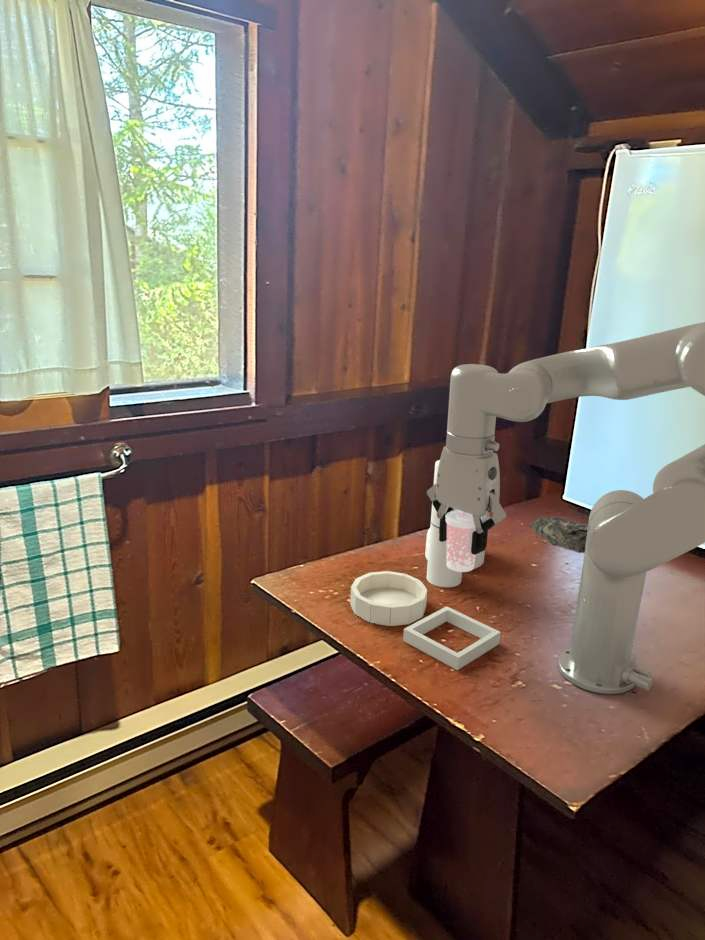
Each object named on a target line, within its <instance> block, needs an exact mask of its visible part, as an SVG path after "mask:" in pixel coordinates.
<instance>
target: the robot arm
mask: <svg viewBox="0 0 705 940" xmlns="http://www.w3.org/2000/svg"><path fill="white" fill-rule="evenodd" d="M686 388H691V389H693V390H694V391H696V392H697V393H699V394H701V395H702V396H704V397H705V322H698V323H694V324H693V323H692V324H689V325H685V326H680V327H677V328H671V329H668V330H665V331H660V332H657V333H656V332H655V333H651V334H648V335H647V334H646V335H644V336H640V337H634V338H629V339H627V340H622V341H617V342H611V343H607V344H606V343H605V344H602V345H597V346H592V347H587V348H580V349H575V350H571V351H565V352H560V353H556V354H552V355H548V356H544V357H539V358H535V359H531V360H527V361H524V362H521V363H519V364H517V365H516V366H515V365H514V366H513V367H512V368H511V369H510V370H509V371H508V372H506V373H499V371H498V370H497V369H495V368H494V367H492V366H490V365H486V364H477V363H476V364H475V363H467V364H460V365H457V366H456V367H455V366H454V368H453V369H452V371H451V373H450V383H449V397H448V412H447V427H446V440H445V441H446V442H445V446H443V448H442V451H441V453H440V459H439V460H440V462H439V467H438V473H437V480H436V484H435V485H434V484H433V485H431V487H430V488H428V489H427V490H426V495H427V496H428V498H429V499H430V501H431V502H433V506H434V508H435V509H436V511H437V517H438V518H439V519H440V526H439V541H441V542H444V541H446V540H447V523H446V520H445V519H446V517H445V515H446V514H447V513H448V512H451V511H454V509H457V510H460V511H462V512H465V513H468V514H471V515H472V516H473V520H474V524H475V528H476V531H474V532H473V533H472V545H471V553H472V554H474V555H476V554H478V553H480V552H482V551H484V550H485V551H486V548H487V544H488V535H489V533H488V532H489V530H490V529H492V528H494V526H496V525H497V524H499V523H501V522H502V521H503V520H504V519H506V518H507V513H506V512H505V510H504V508H503V507H502V504H501V503H500V496H501V495H500V491H501V489H500V488H501V486H500V485H501V479H500V478H501V475H500V474H501V473H500V464H499V457H498V453H495V452H498V451H499V449H500V443H498V442H496V441H495V439H496V436H495V434H496V433H495V432H496V423H497V422H496V421H497V418H501V419H504V420H508V421H511V422H516V423H526V422H529V421H530V422H531V421H532V420H535V419H537V418H538V417H539V416H540V415H541V414H542V413H543V411H544V410H545V408H546V405H547V404H551V403H554V402H558V401H564V400H568V399H574V398H581V397H601V398H602V397H603V398H605V399H606V398H607V399H610V400H617V401H628V400H634V399H638V398H642V397H648V396H651V395H655V394H660V393H665V392H670V391H675V390H682V389H686ZM489 511H491V512H492V516H490V513H489ZM481 516H482V520H481ZM587 523H588V524H587V525H588V530H587V539H586V546H585V552H584V553H583V555H584V557H583V561H582V562H583V563H582V569H581V576H580V582H579V587H578V593H577V594H578V595H577V601H576V606H575V614H574V621H573V627H572V633H571V640H570V646H569V647H568V648H566V649H565V650H563V651H562V652H561V653H560V655H559V657H558V662H557V667H558V670H559V672H560V673H561V675H562V676H563V677H564V678H565V679H566V680H568V681H569V682H570V683H572V684H573V685H574V686H577V687H579V688H581V689H583V690H586V691H589V692H593V693H597V694H604V695H616V694H623V693H625V692H628V691H630V690H632V689H633V688H634V687H635V686H636V687H637V688H641V689H643V690H644V691H647V692H648V691H650V689H651V688H652V685H653V683H654V681H653V679H652V678H651V677H652V671H650V670H648V669H645V667H644V668H643V667H641V666H639V664H638V663H637V657H638V654H636V653H634V652H632V650H633V647H634V643H635V642H634V641H635V636H636V635H635V634H636V630H637V626H638V625H637V624H638V620H639V619H638V618H639V613H640V609H641V608H640V607H641V602H642V598H643V595H644V594H643V593H644V589H645V583H646V577H647V573H648V572H649V571H651V570H654V569H656V568H659V567H660V566H662V565H664V564H666V563H668V562H670V561H672V560H674V559H676V558H678V557H680V556H682V555H683V554H686V553H688V552H689V551H692V550H693V549H696V548H698V547H699V546H701V545H703V544H705V443H704V444H703V445H701V446H699V447H696V448H695V449H693V450H692V451H690V452H688V453H686V454H685V455H682V456H681V457H679V458H677V459H675V460H673V461H672V462H671V461H670V462H669V463H668V464H665V466H663V467H662V468H661V469H660V470H659V471H658V472H657V474H656V475H655V478H654V480H653V484H652V494H650V495H648V496H646V497H644V498H643V496H641V495H639V494H638V493H636V492H633V491H632V490H631V491H630V490H626V489H625V490H624V489H620V490H619V489H617V490H612V491H609V492H607V493H605V494H604V495H602V496H601V497H599V498H598V500H596V502H595V503H594V504H593V506H592V508H591V510H590V513H589V516H588V522H587Z"/></svg>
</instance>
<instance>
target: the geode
mask: <svg viewBox="0 0 705 940" xmlns="http://www.w3.org/2000/svg"><path fill="white" fill-rule="evenodd" d="M529 527H530V528H531V530H532V531H533V532H535V534H537V535H540V536H541V537H543V538H545V539H547V540H548V542H549V543H550V544H551V545H552V546H555V547H559V548H562V549H564V550H569V551H573V552H576V553H583V554H585V546H586V539H587V530H588V524H585V523H583V524H582V523H577V522H574V521H571V520H568V519H567V518H559V517H557V516H554V515H553V516H544V517H537V519H535V520H532V521H531V522H530V524H529Z"/></svg>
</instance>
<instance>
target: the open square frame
mask: <svg viewBox="0 0 705 940" xmlns="http://www.w3.org/2000/svg"><path fill="white" fill-rule="evenodd" d="M446 622H447V623H449V624H450V625H453V626H454V627H457V628H459V629H461V630H463V631H465V632H467V633H469V634H470V635H473V636H475V637H477V638H479V639H478V640H477V641H475V642H474V643H471V644H470V645H468V646H467V647H465V648H464V649H462V650H460V651H458V652H457V651H454V650H452V649H450V648H449V647H447V646H444V645H443V644H441V643H439V642H437V641H436V640H434V639H431V638H430V637H428V636H426V635H424V634H426V633H428V632H430V631H432V630H433V629H436V628H438V627H439V626H441V625H443V624H445V623H446ZM501 634H502V633H501V631H499V630H497V629H495V628H493V627H491V626H489V625H487V624H484V623H482V622H481V621H478V620H477V619H474V618H472V617H470V616H467V615H465V614H464V613H461V612H459V611H458V610H456V609H453V608H451V607H449V606H444V607H442V608H441V609H439V610H437V611H435V612H433V613H431V614H430V615H427V616H425V617H424V618H423V617H422V618H421V619H419V620H417V621H415V622H414V623H413V624H412V623H411V624H409V625H407V627H405V628H403V636H402V637H403V638H402V641H403V642H405V643H407V644H409V645H410V646H412V647H413V648H416V649H417V650H419V651H421V652H423V653H425V654H427V655H428V656H430V657H433V659H436V660H438V661H439V662H442V663H443V664H445V665H446V666H449V667H450V668H453V670H456V671H459V670H460V669H462V668H464V667H465V666H467V665H469V664H470V663H471V662H473V661H475V660H476V659H478V658H479V657H481V656H482V655H484V654H486V653H487V652H489V651H490V650H492V649H493V648H496V647H497V646H498V645H499V644H500V643H501V642H500V641H501V640H500V639H501Z"/></svg>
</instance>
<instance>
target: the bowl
mask: <svg viewBox="0 0 705 940" xmlns="http://www.w3.org/2000/svg"><path fill="white" fill-rule="evenodd" d="M427 597H428V589H427V588H426V586H425V584H424V582H422V581H421V580H420V579H418V578H416V577H413V576H411V575H409V574H407V573H401V572H396V571H388V570H385V571H383V570H382V571H375V572H374V571H373V572H372V571H371V572H368V573H366V574H363V575H360V576H359V577H356V578H355V580H354V581H353V583H352V584H351V586H350V599H349V600H350V604H349V605H351V606H350V607H352V608H351V609H352V611H353V613H354V615H355V614H356V615H357V617H358V616H359V618H360V617H361V618H360V619H362V620H364V621H366V622H368V623H369V622H370V624H374V623H375V624H376V625H381V626H387V627H394V626H395V627H397V626H403V625H411V624H412V623H413V622H414V623H415V622H417V621H419V620H421V619H423V617H424V614H425V611H426V608H427V601H428V600H427V599H428V598H427ZM356 615H355V616H356Z"/></svg>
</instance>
